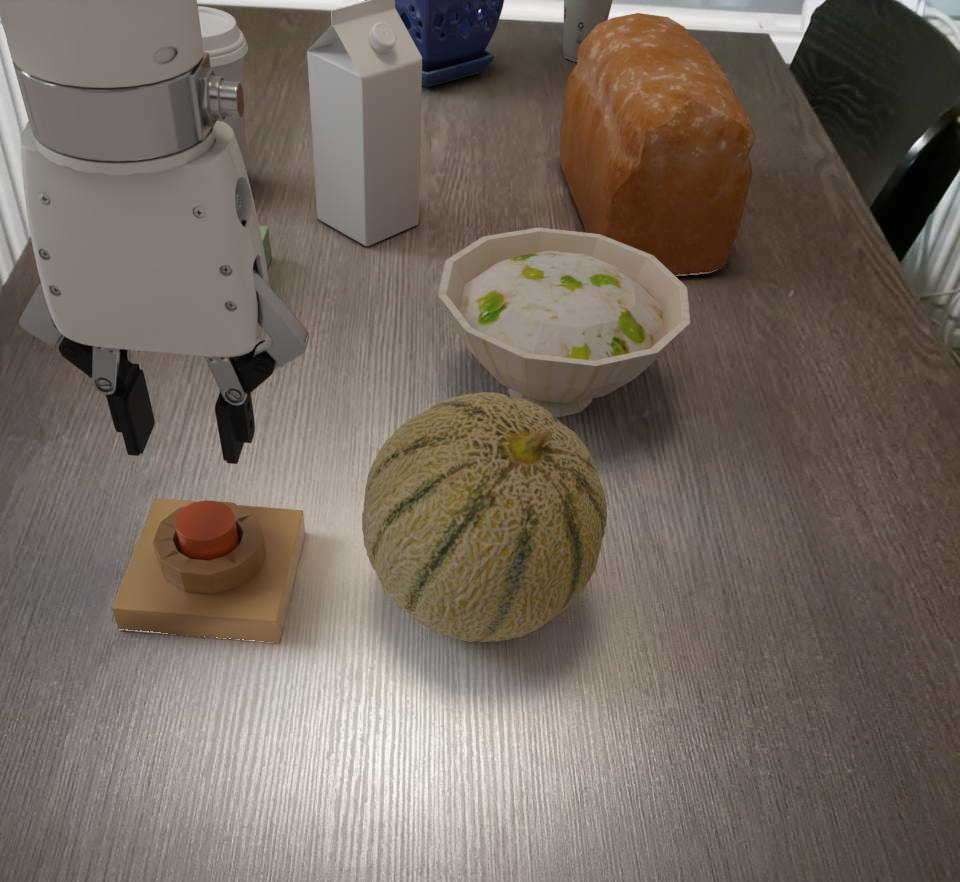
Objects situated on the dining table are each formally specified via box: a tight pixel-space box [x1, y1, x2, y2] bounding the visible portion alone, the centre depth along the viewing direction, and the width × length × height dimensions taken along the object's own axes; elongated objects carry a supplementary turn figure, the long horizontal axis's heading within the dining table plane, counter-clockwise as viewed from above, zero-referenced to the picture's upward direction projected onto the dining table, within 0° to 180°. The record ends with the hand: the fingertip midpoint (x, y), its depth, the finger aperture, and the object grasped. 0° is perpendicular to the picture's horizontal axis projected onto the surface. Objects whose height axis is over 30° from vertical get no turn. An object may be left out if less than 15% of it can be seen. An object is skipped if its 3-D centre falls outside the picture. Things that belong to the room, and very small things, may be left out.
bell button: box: [175, 500, 238, 560], centre depth 60 cm, size 4×4×2 cm
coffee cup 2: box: [562, 0, 614, 61], centre depth 123 cm, size 7×7×10 cm
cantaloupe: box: [361, 391, 608, 643], centre depth 58 cm, size 15×15×15 cm
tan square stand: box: [111, 497, 306, 644], centre depth 62 cm, size 10×10×4 cm
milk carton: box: [306, 0, 423, 247], centre depth 88 cm, size 7×7×19 cm
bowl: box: [437, 226, 691, 418], centre depth 76 cm, size 19×19×10 cm
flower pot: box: [364, 0, 505, 88], centre depth 116 cm, size 13×13×12 cm
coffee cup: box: [198, 5, 249, 173], centre depth 92 cm, size 10×10×15 cm
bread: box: [558, 12, 757, 275], centre depth 94 cm, size 14×26×16 cm, turn 7°
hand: (188, 441), depth 55 cm, fingers open, 4 cm apart
